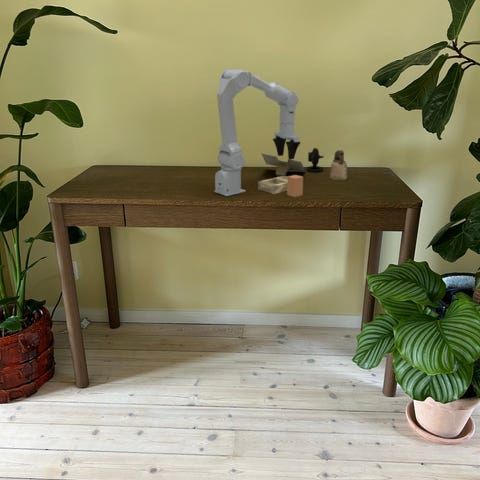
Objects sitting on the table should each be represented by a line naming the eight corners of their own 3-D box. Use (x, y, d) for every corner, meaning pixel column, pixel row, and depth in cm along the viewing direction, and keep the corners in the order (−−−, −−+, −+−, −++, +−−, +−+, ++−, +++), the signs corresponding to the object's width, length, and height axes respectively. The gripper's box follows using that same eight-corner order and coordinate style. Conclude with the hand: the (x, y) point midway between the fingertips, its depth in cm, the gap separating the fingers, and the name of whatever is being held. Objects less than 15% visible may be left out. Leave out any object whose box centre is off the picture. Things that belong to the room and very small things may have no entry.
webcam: (305, 168, 220) (306, 146, 216) (322, 168, 219) (323, 146, 215) (306, 172, 212) (307, 149, 209) (323, 172, 212) (325, 150, 208)
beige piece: (273, 194, 182) (274, 186, 181) (258, 189, 188) (258, 181, 187) (299, 187, 190) (300, 179, 189) (283, 182, 197) (283, 175, 196)
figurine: (344, 176, 206) (346, 148, 201) (348, 180, 199) (351, 151, 195) (328, 176, 206) (329, 148, 201) (331, 180, 199) (333, 151, 195)
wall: (258, 182, 215) (254, 164, 199) (265, 163, 218) (261, 143, 202) (299, 192, 211) (298, 174, 195) (305, 172, 213) (305, 153, 198)
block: (294, 197, 178) (295, 178, 175) (287, 195, 181) (287, 176, 178) (302, 195, 180) (303, 176, 178) (294, 193, 183) (295, 174, 181)
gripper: (306, 124, 186) (304, 159, 191) (284, 119, 198) (283, 153, 203) (291, 125, 183) (290, 161, 188) (270, 121, 194) (269, 154, 199)
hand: (285, 157), depth 195 cm, fingers open, 7 cm apart
